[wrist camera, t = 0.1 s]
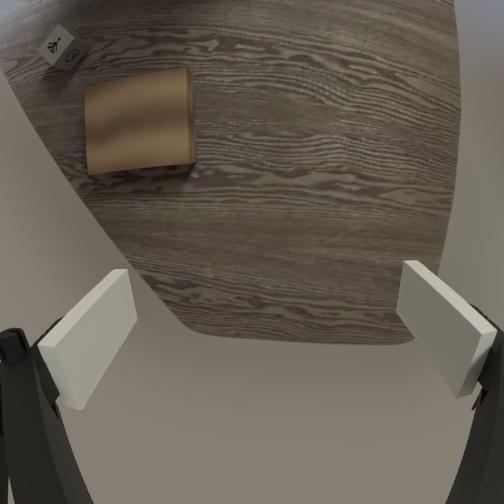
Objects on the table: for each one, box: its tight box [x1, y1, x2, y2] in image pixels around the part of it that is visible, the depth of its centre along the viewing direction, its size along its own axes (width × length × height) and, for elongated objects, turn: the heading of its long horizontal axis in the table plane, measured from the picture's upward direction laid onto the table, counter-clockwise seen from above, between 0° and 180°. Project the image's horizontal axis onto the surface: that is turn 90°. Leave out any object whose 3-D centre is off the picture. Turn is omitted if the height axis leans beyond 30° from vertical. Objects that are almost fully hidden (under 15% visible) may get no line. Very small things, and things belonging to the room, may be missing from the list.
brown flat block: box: [85, 67, 196, 175], centre depth 36 cm, size 12×14×4 cm
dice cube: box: [37, 24, 91, 72], centre depth 31 cm, size 5×5×5 cm
